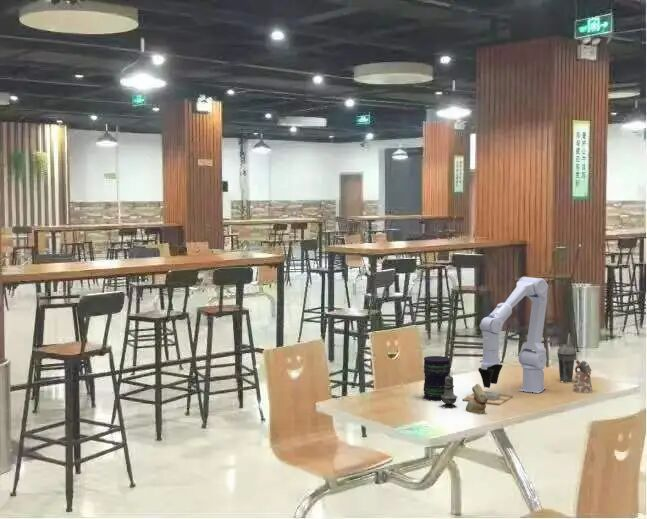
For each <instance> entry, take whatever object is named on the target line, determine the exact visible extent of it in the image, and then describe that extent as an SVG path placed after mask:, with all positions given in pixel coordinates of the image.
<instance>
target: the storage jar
mask: <svg viewBox="0 0 647 519" xmlns="http://www.w3.org/2000/svg"><path fill="white" fill-rule="evenodd" d="M423 361H424V362H423V374H424V382H423V399H424V400H426V401H431V400H432V402H442V401H441V400H442V398H441V396H442V395H444V393H445V387H444V385H445V377H446V376H448V374H450V375H451V358H450V357H448V356H442V355H429V356H428V355H427V356H426V357H423Z"/></svg>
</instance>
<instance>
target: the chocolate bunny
mask: <svg viewBox="0 0 647 519" xmlns="http://www.w3.org/2000/svg"><path fill="white" fill-rule="evenodd" d="M471 389H472V394H473V393H474V399H472V400H470V401H469V402H468V401H467V404H466V407H465V410H466V411H467V412H469V413H472V414H486V408H487V404H485V403H486V402H487V400H488V398H487V395H486V393H484V392H483V391H484V390H483V389H482V386H481V385H480V384H479V383H475V385H473V386H472V388H471Z"/></svg>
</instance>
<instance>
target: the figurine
mask: <svg viewBox="0 0 647 519" xmlns="http://www.w3.org/2000/svg"><path fill="white" fill-rule="evenodd" d="M575 363H576V366H575V368H574V370H575V371H574V372H575V375H574V378H573V385H572V391H573V390H574V391H575V393H577V392H579V393H578V394H591V393H593V387H592V386H593V385H592V380H591V374H592V373H591V372H592V371H593V370H592V369H591V367H590V364H589V363H588V362H587V361H585V360H582V361H580V360H578V359H577V360H575ZM578 369H579V370H578ZM574 391H573V392H574ZM590 392H591V393H590Z"/></svg>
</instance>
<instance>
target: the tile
mask: <svg viewBox="0 0 647 519" xmlns="http://www.w3.org/2000/svg"><path fill="white" fill-rule="evenodd" d="M483 392H484V393H486V395H487V398H488V400H496V399H498V398H500V394H501V392H496V391H490V390H489V391H488V390H483Z"/></svg>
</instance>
